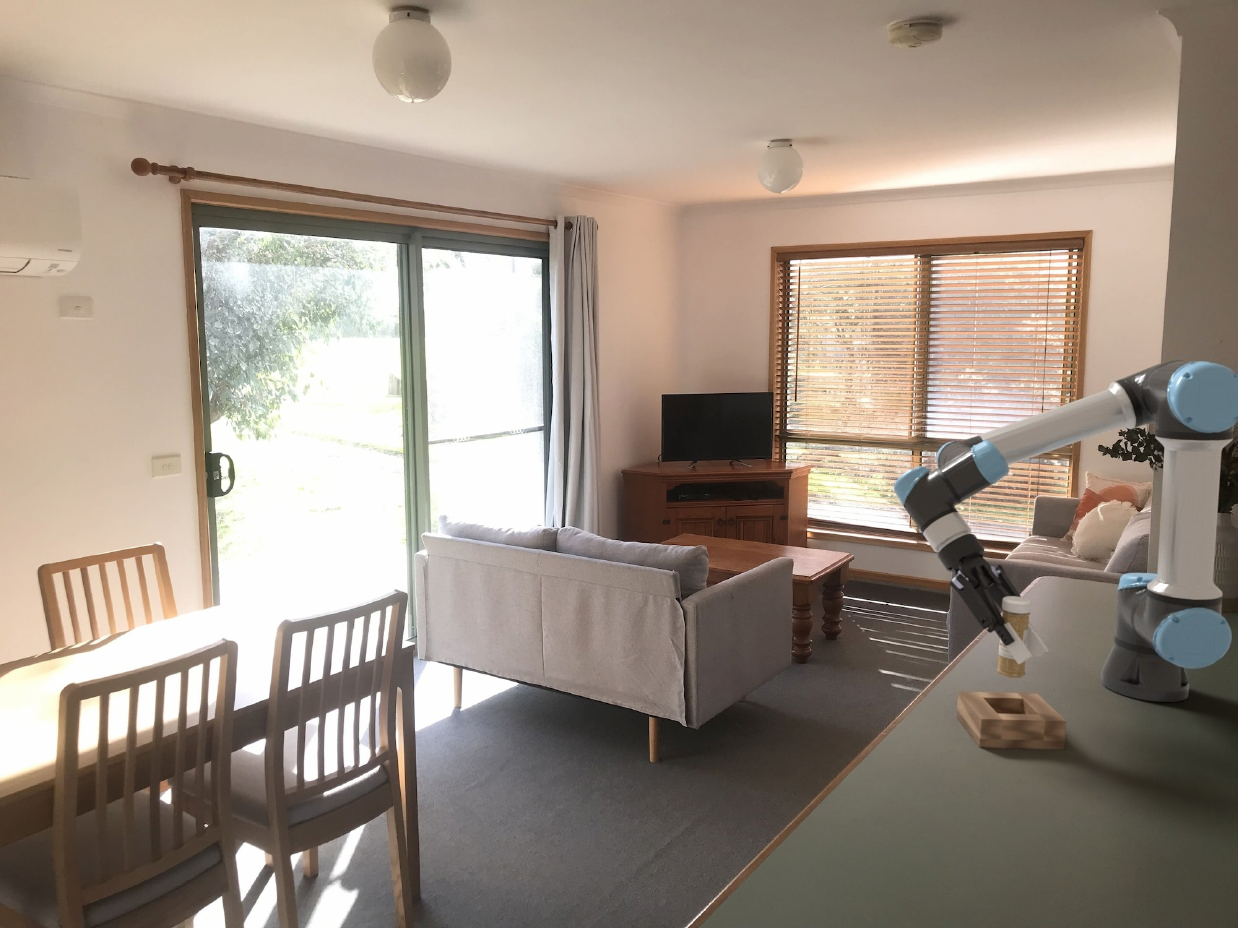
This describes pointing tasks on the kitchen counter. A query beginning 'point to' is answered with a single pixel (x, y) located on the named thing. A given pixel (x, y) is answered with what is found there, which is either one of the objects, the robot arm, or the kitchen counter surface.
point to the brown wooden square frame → (1010, 720)
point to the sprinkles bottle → (1018, 617)
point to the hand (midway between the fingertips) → (1033, 656)
